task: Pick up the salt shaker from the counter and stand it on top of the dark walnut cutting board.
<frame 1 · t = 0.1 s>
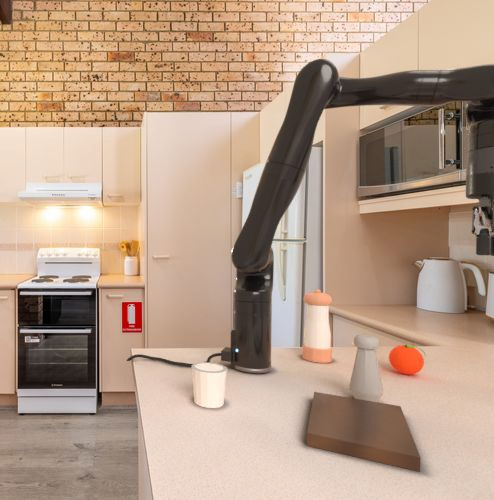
hand: (490, 255, 77), 29 cm above the countertop, tool pointing down, fingers open, 8 cm apart
clementine: (408, 374, 95), on the countertop
salt shaker: (365, 401, 78), on the countertop
shot glass: (208, 403, 77), on the countertop
cutting board: (357, 430, 65), on the countertop
pepper shaker: (316, 359, 108), on the countertop
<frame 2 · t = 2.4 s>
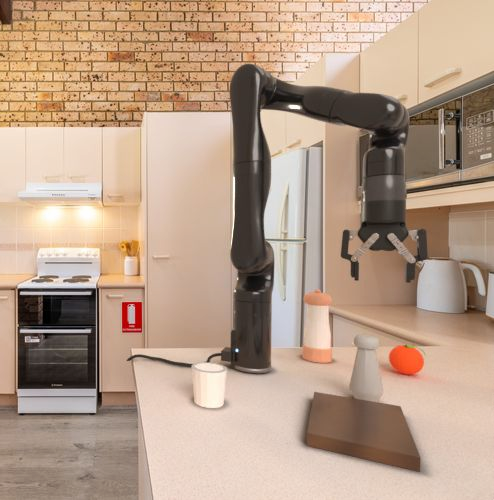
hand: (381, 281, 78), 24 cm above the countertop, tool pointing down, fingers open, 8 cm apart
nothing on the countertop moved.
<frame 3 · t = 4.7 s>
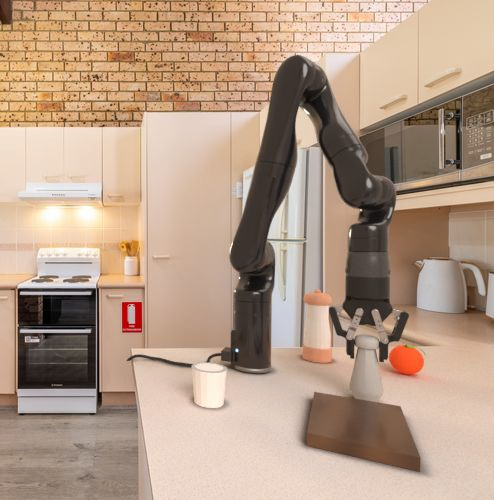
hand: (366, 359, 78), 8 cm above the countertop, tool pointing down, fingers closed on salt shaker, 4 cm apart
salt shaker: (365, 401, 78), on the countertop, touching gripper
everything else where it was.
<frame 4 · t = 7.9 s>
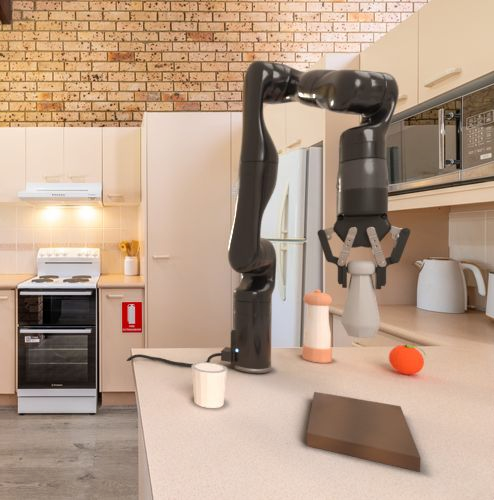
hand: (360, 287, 67), 24 cm above the countertop, tool pointing down, fingers closed on salt shaker, 4 cm apart
salt shaker: (360, 336, 67), point 15 cm above the countertop, touching gripper
everything else where it was.
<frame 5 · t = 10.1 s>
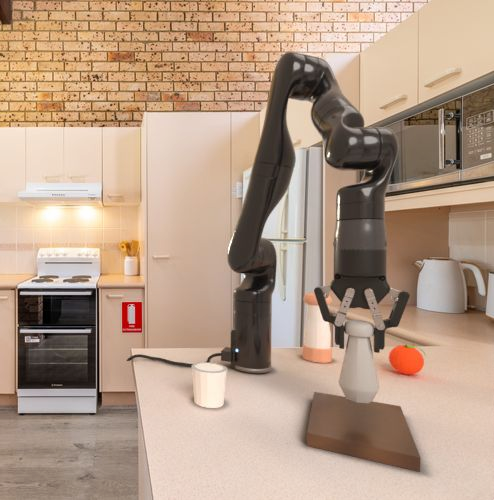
hand: (358, 349, 65), 14 cm above the countertop, tool pointing down, fingers closed on salt shaker, 4 cm apart
salt shaker: (358, 399, 65), point 5 cm above the countertop, touching gripper
everything else where it was.
when the fingers open (10 cm above the countertop, at t = 11.4 s): salt shaker stays where it is, resting on cutting board.
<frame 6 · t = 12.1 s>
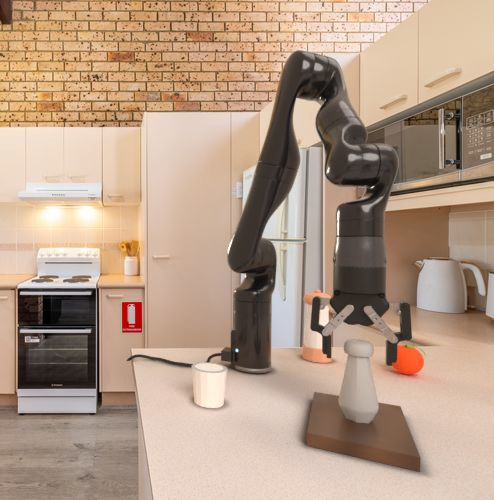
hand: (357, 360, 65), 12 cm above the countertop, tool pointing down, fingers open, 8 cm apart
salt shaker: (357, 419, 65), point 2 cm above the countertop, touching cutting board
everything else where it was.
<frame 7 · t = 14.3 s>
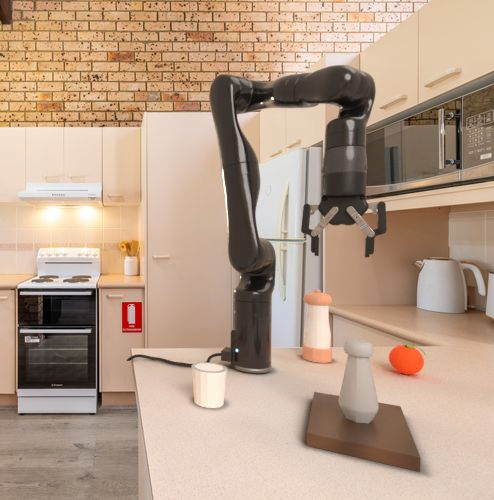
hand: (341, 256, 76), 29 cm above the countertop, tool pointing down, fingers open, 8 cm apart
nothing on the countertop moved.
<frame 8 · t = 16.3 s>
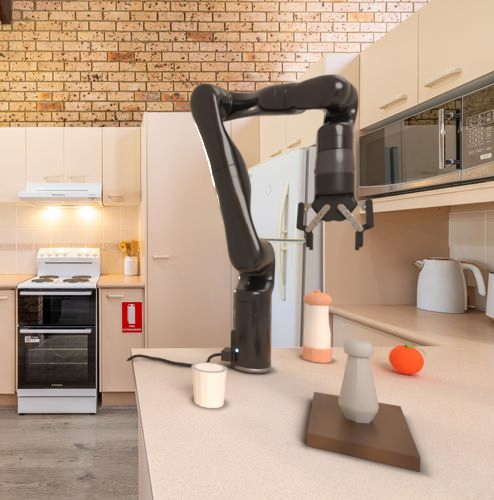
hand: (333, 250, 83), 30 cm above the countertop, tool pointing down, fingers open, 8 cm apart
nothing on the countertop moved.
at the end: salt shaker inside the target area on the cutting board (0.1 cm from its centre), point 1.8 cm above the cutting board's base; salt shaker tilted 0°; the gripper is holding nothing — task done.
